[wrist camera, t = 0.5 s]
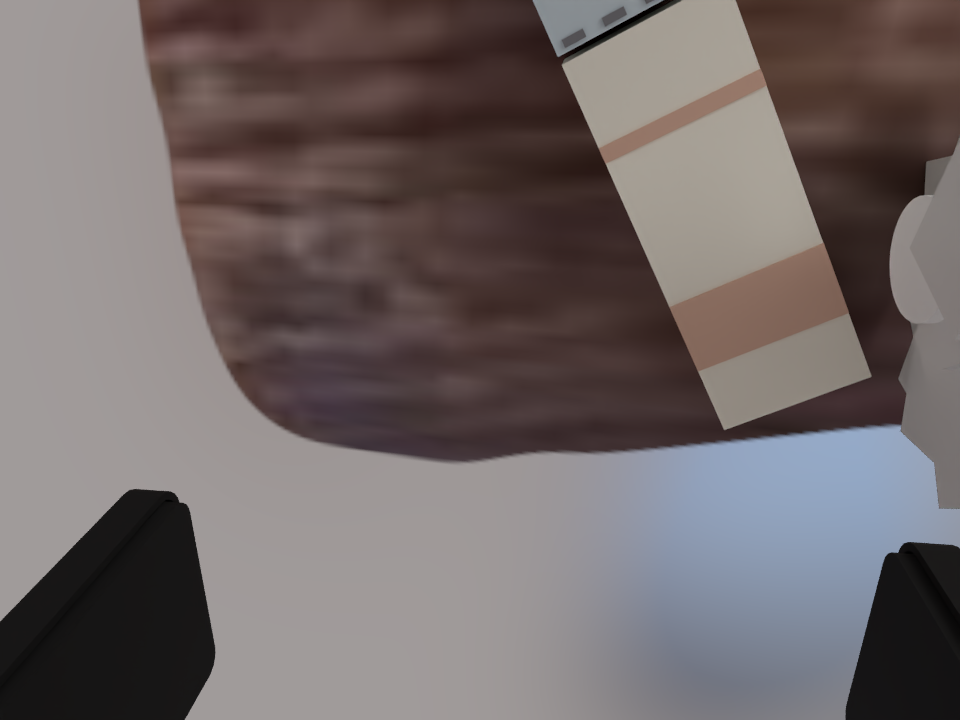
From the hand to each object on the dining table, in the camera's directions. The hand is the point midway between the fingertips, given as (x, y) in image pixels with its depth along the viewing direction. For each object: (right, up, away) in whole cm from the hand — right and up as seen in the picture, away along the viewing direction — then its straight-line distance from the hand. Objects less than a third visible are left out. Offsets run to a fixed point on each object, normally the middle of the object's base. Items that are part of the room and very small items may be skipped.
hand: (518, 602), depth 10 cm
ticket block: (+9, +10, +23) cm, 27 cm away
